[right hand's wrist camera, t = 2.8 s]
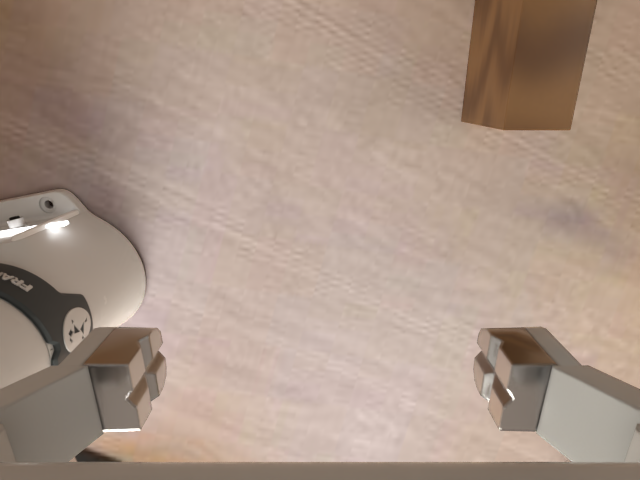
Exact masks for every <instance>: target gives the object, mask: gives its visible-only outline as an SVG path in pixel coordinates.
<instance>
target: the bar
mask: <svg viewBox="0 0 640 480" xmlns="http://www.w3.org/2000/svg"><path fill="white" fill-rule="evenodd" d="M596 4H597V0H475V7H474V16H473V24H472V33H471V41H470V50H469V59H468V67H467V76H466V84H465V93H464V101H463V110H462V118H461V121H462V122H466V123H471V124H476V125H481V126H486V127H491V128H496V129H501V130H570V129H571V124H572V119H573V114H574V109H575V105H576V100H577V95H578V90H579V85H580V81H581V76H582V71H583V66H584V61H585V57H586V52H587V47H588V42H589V37H590V32H591V28H592V23H593V18H594V13H595V8H596Z"/></svg>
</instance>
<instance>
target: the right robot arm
mask: <svg viewBox="0 0 640 480" xmlns="http://www.w3.org/2000/svg"><path fill="white" fill-rule="evenodd" d="M49 201H51V202H52V203H53V207H52V206H51V205H50V204H49ZM145 290H146V277H145V271H144V267H143V264H142V261H141V259H140V257H139V255H138V253H137V251H136V250H135V248H134V247H133V245H132V244H131V243H130V242H129V240H128V239H127V238H126V237H125V236H124V235H123V234H122V233H121V232H120V231H119V230H117V229H116V228H115V227H113V226H112V225H111V224H109V223H107V222H106V221H104V220H102V219H100V218H99V217H97V216H95V215H94V214H92V213H91V212H90V211H88V210H87V208H86V207H85V206H84V205H83V204H82V203H81V202H80V200H79V199H78V198H77V197H76V196H75V195H74V194H73V193H71V192H70V191H68V190H66V189H55V190H50V191H45V192H40V193H35V194H30V195H25V196H20V197H15V198H10V199H5V200H0V480H640V389H638V388H636V387H634V386H632V385H630V384H627V383H625V382H623V381H621V380H619V379H617V378H614V377H612V376H610V375H608V374H606V373H604V372H601V371H599V370H597V369H595V368H593V367H591V366H582V365H581V364H580V363H579V362H578V361H577V360H576V359H575V358H574V357H573V356H572V355H571V354H570V353H569V352H568V351H567V350H566V349H565V348H564V347H563V346H562V345H561V344H560V342H559V341H558V340H557V339H556V338H555V337H554V336H553V335H552V334H551V333H550V332H549V331H548V330H547V329H546V328H543V327H521V328H483V329H481V330H480V332H479V335H478V340H477V343H478V345H479V347H480V348H481V350H482V351H481V352H480V353H479V354H478V355H477V356H476V357H475V360H474V368H473V370H474V380H475V384H476V387H477V389H478V391H479V393H480V395H481V396H482V397H483V398H485V399H486V400H488V401H489V406H488V410H489V412H490V414H491V416H492V418H493V420H494V421H495V423H496V425H497V427H498V429H499V431H532V432H537V434H538V435H539V436H540V437H542V438H543V439H544V440H545V441H547V442H548V443H549V444H550V445H552V446H553V447H554V448H555V449H557V450H558V451H559V452H560V453H562V454H563V455H564V456H565V457H567V458H568V459H569V460H570V461H572V462H69V461H70V460H71V459H72V458H73V457H75V456H76V455H77V454H79V453H80V452H81V451H82V450H84V449H85V448H86V447H87V446H89V445H90V444H91V443H92V442H94V441H95V440H96V439H97V438H99V437H100V436H101V435H102V434H103V432H108V431H141V429H142V427H143V425H144V423H145V421H146V420H147V418H148V416H149V414H150V412H151V410H152V406H151V401H152V400H154V399H155V398H157V397H158V396H159V395H160V393H161V391H162V389H163V387H164V383H165V379H166V359H165V357H164V356H163V355H162V354H161V353H160V352H159V351H158V350H159V348H160V347H161V345H162V343H163V341H162V336H161V331H160V330H159V329H158V328H140V327H119V326H120V325H122V324H123V323H125V322H126V321H127V320H129V319H130V318H131V317H132V316H133V315H134V314H135V313H136V312H137V310H138V309H139V307H140V305H141V304H142V301H143V299H144V295H145Z"/></svg>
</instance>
